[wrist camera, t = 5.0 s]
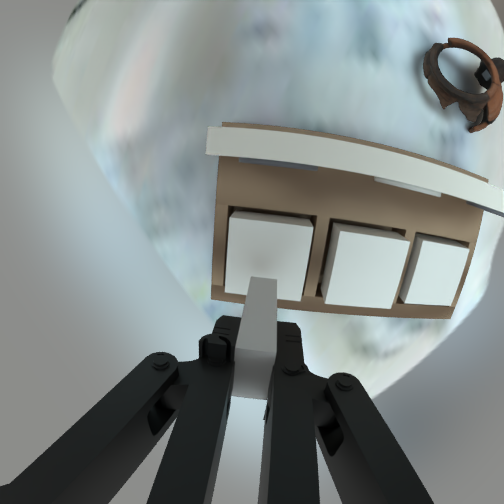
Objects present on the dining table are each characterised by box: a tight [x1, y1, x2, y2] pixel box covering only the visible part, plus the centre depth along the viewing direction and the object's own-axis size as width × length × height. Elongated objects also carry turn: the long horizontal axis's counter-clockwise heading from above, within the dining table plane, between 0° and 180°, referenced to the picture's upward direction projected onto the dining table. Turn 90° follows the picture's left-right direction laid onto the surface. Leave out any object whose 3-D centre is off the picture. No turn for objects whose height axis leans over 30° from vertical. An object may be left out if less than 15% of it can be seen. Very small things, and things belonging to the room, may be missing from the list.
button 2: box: [399, 233, 470, 306], centre depth 22 cm, size 6×6×3 cm
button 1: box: [225, 211, 313, 301], centre depth 22 cm, size 6×6×3 cm
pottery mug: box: [423, 38, 504, 133], centre depth 16 cm, size 12×10×8 cm
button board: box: [211, 122, 488, 319], centre depth 23 cm, size 15×25×4 cm, turn 85°
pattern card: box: [205, 126, 504, 217], centre depth 15 cm, size 2×22×10 cm, turn 85°
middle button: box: [321, 222, 410, 309], centre depth 21 cm, size 6×6×3 cm
